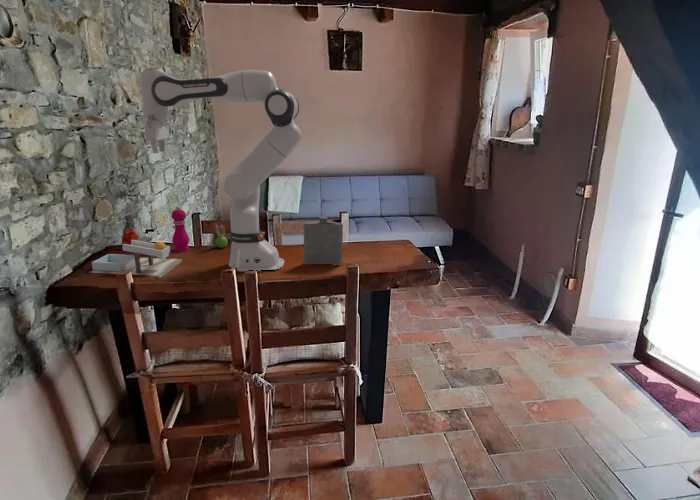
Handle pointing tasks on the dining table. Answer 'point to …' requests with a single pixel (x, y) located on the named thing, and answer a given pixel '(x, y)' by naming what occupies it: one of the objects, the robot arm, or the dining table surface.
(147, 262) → the base board
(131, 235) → the red clay folk toy
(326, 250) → the hip flask
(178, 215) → the pepper mill
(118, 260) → the grey open tray
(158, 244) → the ball
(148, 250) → the lever
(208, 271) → the dining table surface
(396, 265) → the dining table surface
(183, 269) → the dining table surface
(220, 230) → the snail figurine
